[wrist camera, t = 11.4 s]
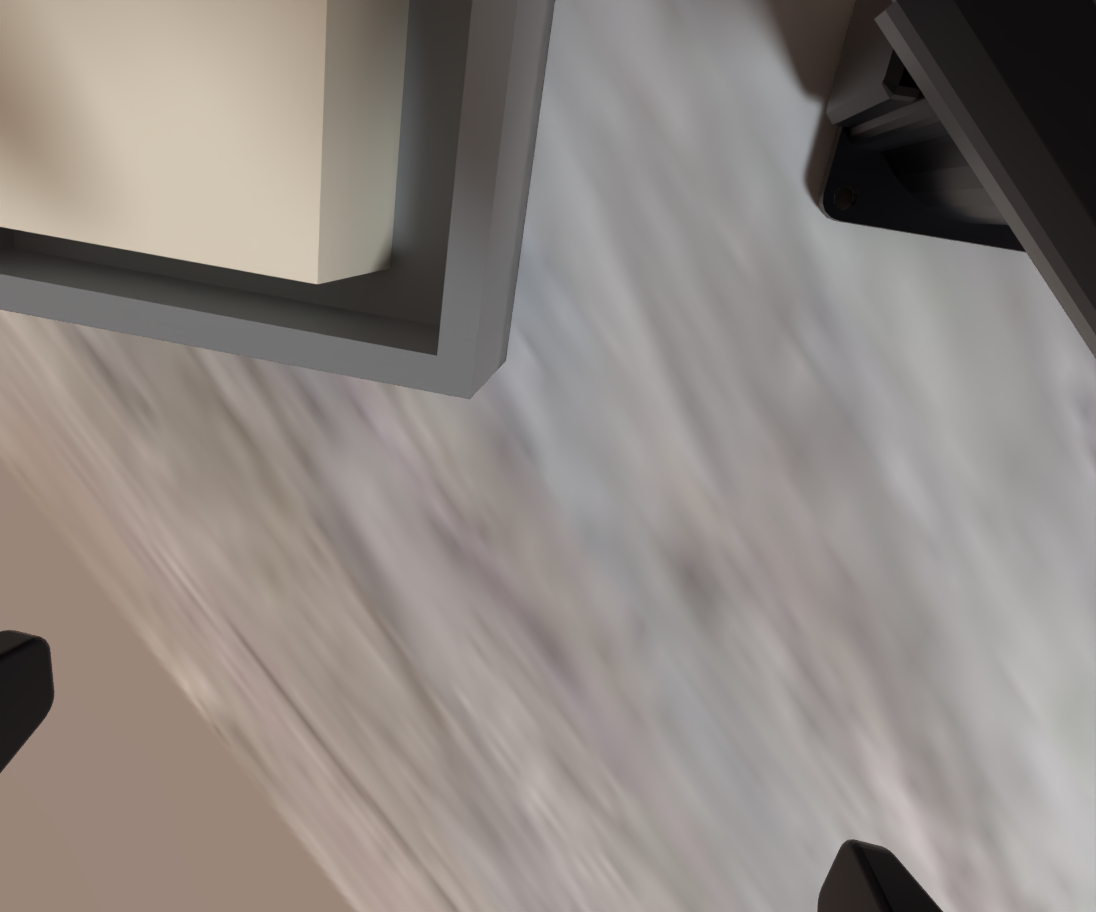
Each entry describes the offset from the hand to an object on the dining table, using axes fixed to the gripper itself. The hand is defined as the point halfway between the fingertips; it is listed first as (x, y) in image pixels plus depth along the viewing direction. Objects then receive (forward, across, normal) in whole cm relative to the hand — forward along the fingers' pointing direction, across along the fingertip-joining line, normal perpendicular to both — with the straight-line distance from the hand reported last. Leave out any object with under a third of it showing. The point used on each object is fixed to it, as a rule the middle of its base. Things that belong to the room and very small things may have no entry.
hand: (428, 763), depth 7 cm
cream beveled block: (+11, +9, -7) cm, 16 cm away
